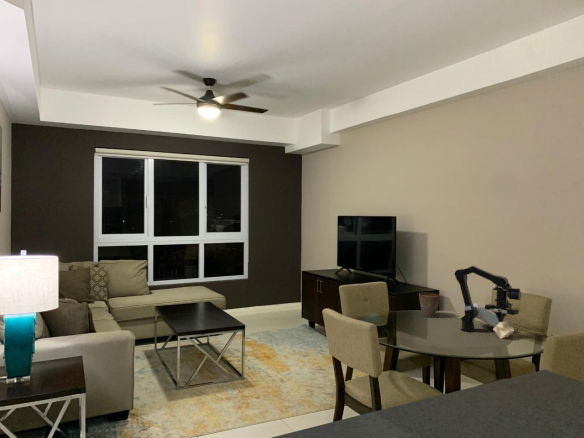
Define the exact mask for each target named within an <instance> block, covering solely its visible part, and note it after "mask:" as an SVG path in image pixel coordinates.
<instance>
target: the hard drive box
mask: <svg viewBox="0 0 584 438" xmlns="http://www.w3.org/2000/svg"><path fill="white" fill-rule="evenodd" d="M473 306H474V307H477V311H478V313H477V314H478V315H477V317H476V318H475V319H478V320H480V321H481V322H484V323H486V324H488V325H490V326H492V327H493V328H495V327H496V326H497V325H498V324H499V320H498V318H497V316H496V314H495V313H494V312H493V311H491V310H487V309H485V307H484V306H481V305H480V304H477V303H474V304H473ZM504 321H507V322H508V323H509V324H510V323H511V322H510V321H509V320H508V319H506V318H504V320H503V322H504Z"/></svg>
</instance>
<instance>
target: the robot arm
mask: <svg viewBox="0 0 584 438" xmlns="http://www.w3.org/2000/svg"><path fill="white" fill-rule="evenodd" d="M472 273H473V274H474V275H476V276H479V277H481V278H484V279H486V280H488V281H490V282H491V283H493V284H494V285H495V287H493V289H492V290H493V291H496V298H495V300H494V301H495V302H496V303H495V304H496V305H495V304H493V303H488V304H485V306H484V308H485V309H487V310H489V311H491V310H493V311H492V312H493V313H495V314H496V316H497V318H498V320H499V323H500V322H503V320H504V319H505V317H506V316H507V315H511V316H515V315H516V316H517V315H519V310H518V308H512V307H513V304H512V303H510V302H509V300H515V301H516V300H517V301H521V298H522V292H521V288H513V287H512V286H511V285H510V283H509V280H508V278H507V277H505V276H501V275H498V274H493V273H492V272H491V273H490V272H488V271H487V270H484V269H481V268H480V267H477V266H476V265H472V266H471V265H470V267H467V268H461V269H456V270H455V272H454V277H455V280H456V281H457V282H458V284H459V287H460V290H461V291H460V292H461V295H462V299H463V302H464V315H463V316H462V317H461V318H460V320H461V328H460V330H459V331H462V332H463V331H464V332H466V333H472V332H475V323H474V320H475V319H477V318H476V317H477V315H478V314H477V313H478V311H477V307H474V306H473V305H474V304H473V302H472V297H471V293H470V290H469V285H468V275H470V274H472ZM508 299H509V300H508Z"/></svg>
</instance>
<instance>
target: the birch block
mask: <svg viewBox="0 0 584 438" xmlns="http://www.w3.org/2000/svg"><path fill="white" fill-rule="evenodd" d="M507 321H508V320H507ZM507 321H504V322H500V323H499V324H498V325H497V326H496V327H493V328H492V331H494V333H495V334H496V335H497V336H498V337H499V338H500V339H501V340H502V339H506V338H508V337H509V336H510V335H511V334H513V332H514V331H516V330H515V329H514V327H513V326H511V325H510V323H508V322H507Z"/></svg>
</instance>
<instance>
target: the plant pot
mask: <svg viewBox="0 0 584 438" xmlns="http://www.w3.org/2000/svg"><path fill="white" fill-rule="evenodd" d="M418 298H419V305H420V310H421V313H422V316H423V317H424V318H431V319H432V318H433V319H434V317H435V316H436V313H437V311H438V308H439V304H440V300H441V294H439V293H435V292H434V293H433V292H419V293H418Z"/></svg>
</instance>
